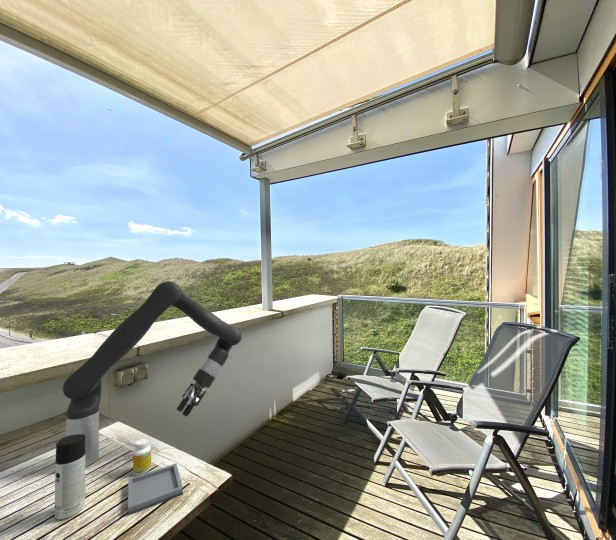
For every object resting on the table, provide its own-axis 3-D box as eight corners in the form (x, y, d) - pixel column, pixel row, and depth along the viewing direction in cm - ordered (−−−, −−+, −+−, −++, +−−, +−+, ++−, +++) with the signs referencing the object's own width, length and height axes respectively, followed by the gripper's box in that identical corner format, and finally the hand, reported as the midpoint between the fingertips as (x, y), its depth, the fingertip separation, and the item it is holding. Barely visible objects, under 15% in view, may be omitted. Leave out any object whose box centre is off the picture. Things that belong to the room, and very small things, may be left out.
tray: (128, 515, 80) (128, 508, 80) (128, 485, 92) (128, 478, 92) (182, 494, 87) (182, 487, 87) (176, 469, 99) (176, 463, 99)
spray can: (66, 502, 85) (66, 433, 86) (90, 500, 86) (91, 432, 86) (47, 521, 78) (48, 446, 79) (74, 519, 79) (74, 445, 79)
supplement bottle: (143, 476, 96) (142, 446, 96) (129, 474, 97) (129, 445, 97) (154, 466, 101) (154, 437, 101) (141, 464, 102) (141, 436, 102)
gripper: (195, 366, 120) (168, 405, 111) (205, 369, 108) (177, 412, 100) (209, 375, 122) (184, 413, 114) (221, 379, 111) (195, 422, 103)
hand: (181, 413), depth 107 cm, fingers open, 8 cm apart
